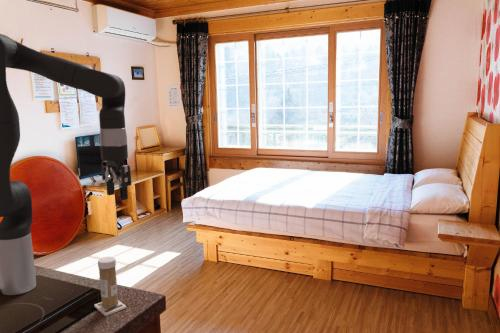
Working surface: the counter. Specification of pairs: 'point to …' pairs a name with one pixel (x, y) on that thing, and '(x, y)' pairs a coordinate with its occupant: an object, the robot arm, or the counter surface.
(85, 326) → the counter surface
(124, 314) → the counter surface
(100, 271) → the sprinkles bottle
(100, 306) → the letter card
